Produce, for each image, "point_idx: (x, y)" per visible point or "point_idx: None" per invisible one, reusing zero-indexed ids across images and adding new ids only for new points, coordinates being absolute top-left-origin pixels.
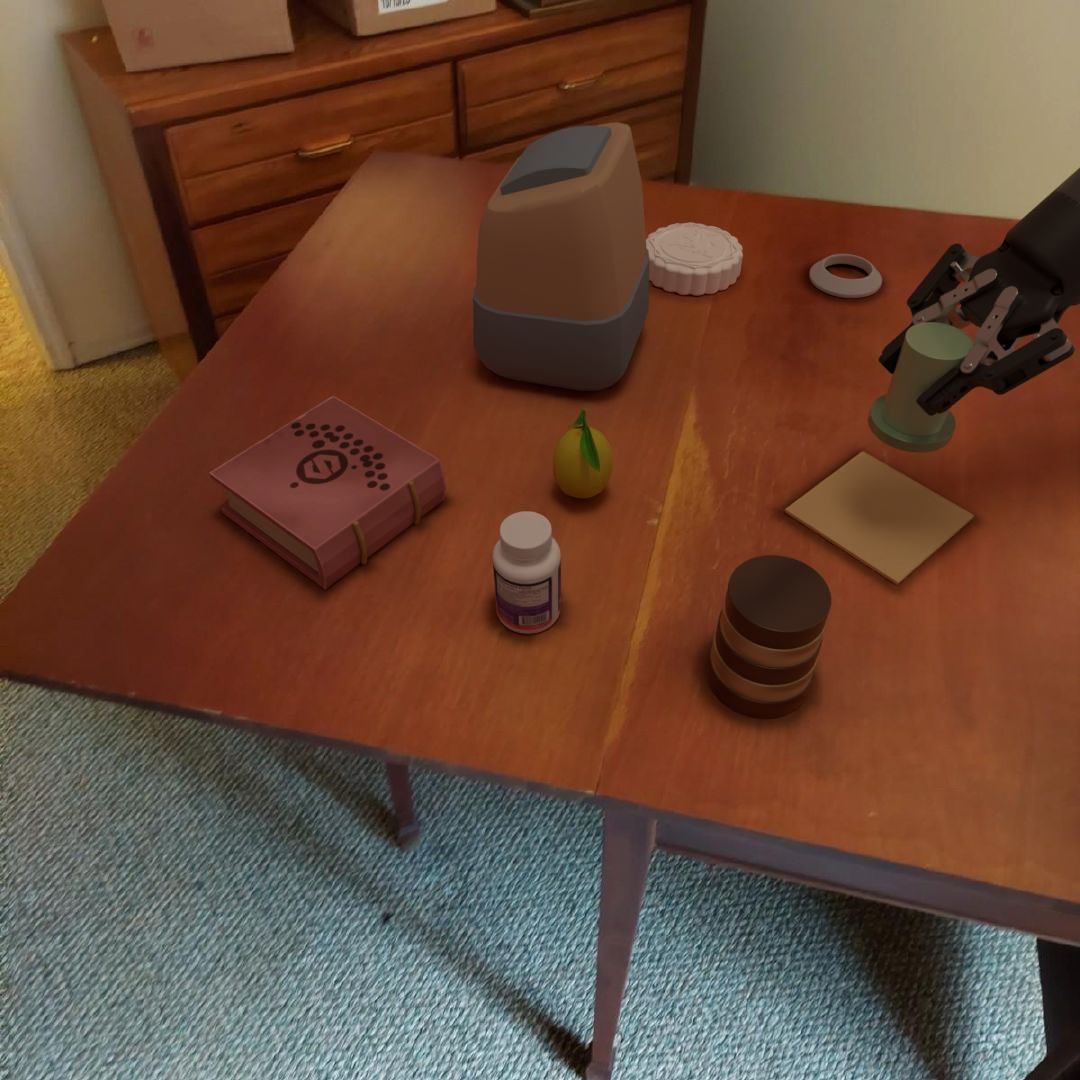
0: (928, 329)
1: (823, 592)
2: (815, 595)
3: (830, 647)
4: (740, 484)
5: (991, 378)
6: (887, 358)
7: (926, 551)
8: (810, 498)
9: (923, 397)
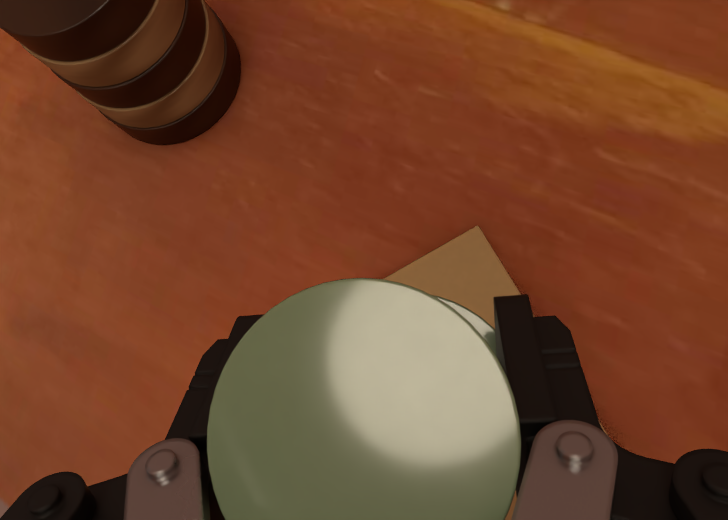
0: (455, 432)
1: (25, 22)
2: (24, 7)
3: (185, 192)
4: (571, 173)
5: (27, 494)
6: (496, 307)
7: None
8: (495, 283)
9: (249, 324)
